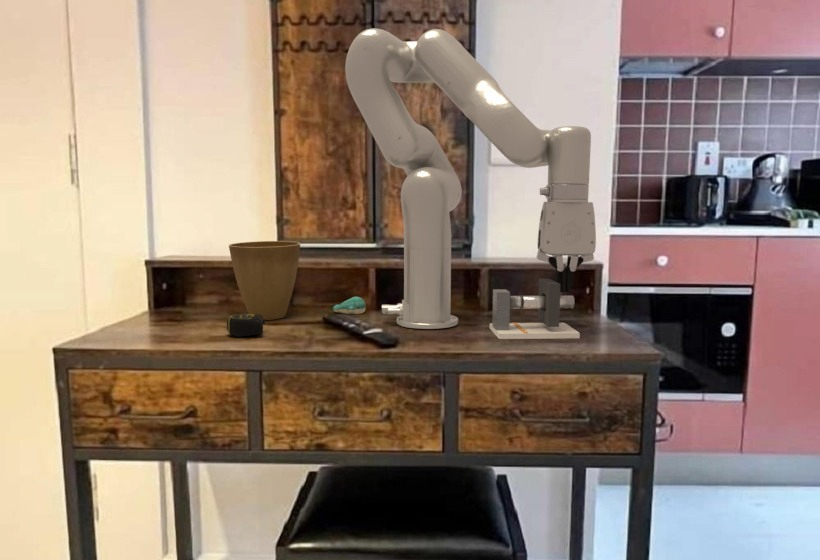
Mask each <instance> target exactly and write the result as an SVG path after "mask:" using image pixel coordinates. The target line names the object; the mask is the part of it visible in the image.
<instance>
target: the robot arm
mask: <svg viewBox="0 0 820 560" xmlns="http://www.w3.org/2000/svg"><path fill="white" fill-rule="evenodd" d="M344 66H345V67H344V68H345V69H344V70H345V78H346V83H347V86H348V89H349V92H350V94H351V96H352V98H353V100H354V102H355V104H356V106H357V108H358V110H359V112H360V114H361V116H362V117H363V120H364V121H365V123H366V125H367V128H368V129H369V131H370V133H371V134H372V137H373V138H374V141H375V142H376V144H377V145H378V148H379V150H380V152H381V154H382V155H383V158H384V159H385V161H386V162H387V163H388V164H389V165H391V166H393V167H395V168H398V169H403V170H404V172H405V174H406V178H405V179H404V181H403V182H402V185H401V190H400V204H401V205H400V206H401V212H402V213H401V214H402V220H403V222H402V223H403V254H404V255H403V258H404V259H403V261H404V262H403V280H404V281H403V299H401V302H398V303H397V304H381V314H383V315H391V316H392V315H397V317H396V324H397V325H398V326H401V327H404V328H409V329H418V330H419V329H420V330H422V329H423V330H438V329H446V328H447V329H448V328H452V327H455V326H457V325H458V324H459V317H457V316H455V315H453V314H451V304H452V303H451V300H452V299H451V297H452V296H451V293H452V291H451V290H452V289H451V286H452V282H451V281H452V227H451V226H452V225H451V217H450V215H451V214H450V212H452V211H453V210H455V209H456V207H457V206H458V205H459V204H460V201H461V199H462V193H463V190H462V185H461V182H460V179H459V177H458V175H457V173H456V172H455V169H454V167H453V166H452V164H451V162H450V161H449V158H448V157H447V155H446V153H445V152H444V150H443V147H442V146H441V144H440V143H439V141H438V138H436V136H435V135H434V134H433V132H432V131H430V130H429V129H428V128H427V127H425V126H423V125H421V124H418V123H417V122H416V121H414V119H413V117H412V116H411V113H410V112H409V110H408V109H407V107H406V105H405V103H404V101H403V100H402V97H401V96H400V94H399V92H398V90H397V89H396V88H395V87H394V85H393V84H392V83H396V84H397V83H399V84H400V83H401V84H402V83H403V84H404V83H405V84H407V83H411V84H412V83H415V84H416V83H418V84H421V83H422V84H425V83H427V84H431V83H432V84H433V83H435V85H437V86H438V87H439V89H440V90H441V91H442V92H443V93H444V94H445V95H446V97H448V98H449V99H450V100H451V101H452V102H453V104H455V106H456V107H457V108H458V109H459V110H460V111H461V112H462V113H463V114H464V116H465V117H466V118H468V119H469V120H470V121H471V122H472V123H473V124H474V125H475V127H476V128H477V129H478V130H479V132H481V133H482V134H483V135H484V136H485V138H487V140H488V141H490V142H491V144H492V145H493V146H494V147H495V148H496V149H497V150H498V151H499V152H500V153H501V154H502V155H503V156H504V157H505V158H506V159H507V160H508V161H510V162H511V163H512V164H514V165H517V166H520V167H523V168H528V169H530V168H531V169H533V168H539V167H546V166H548V168H547V184H546V186H545V187H540V188H539V195H540V196H545V199H546V201H543V204H542V207H541V212H540V217H539V223H538V230H537V231H538V232H537V249H538V251H537V253H536V259H537V260H539V261H542V262H546V263H548V264H550V266H552V268H553V269H554V270H555V278H554V281H555V282H557V283H559V284H560V293H571V288H573V287H574V272H576V270H577V268H579V267H580V265H582V263H588V262H592V261H593V260H594V258H595V256H594V253H595V252H596V249H597V248H596V247H597V241H596V240H597V237H596V236H597V234H596V215H595V214H596V213H595V209H594V208H595V207H594V203H593V201H592V202H591V201H589V194H590V193H589V192H590V191H589V189H590V185H589V184H590V170H591V169H590V166H591V146H592V145H591V144H592V134H591V131H590V129H589V128H587V127H584V126H580V125H579V126H577V125H571V126H569V125H567V126H557V127H554V128H553V129H549V130H548V129H540V128H538V127H537V126H536V125H535V124H534V123H533V122H532V121H531V120H530V119H529V118H528V117H527V116H526V115H525V114H524V113H523V112H522V111H521V110H520V109H519V108H518V107H517V106H516V105H515V104H514V103H513V102H512V101H511V100H510V99H509V98H508V97H507V96H506V94H505V93H504V92H503V90H502V89H501V87H500V85H499V83H498V81H497V80H496V79H495V78H494V77H493V75H491V73H489V71H488V70H487V69H486V68H484V67H483V66H482V64H481V63H480V62H478V61H477V59H475V58H474V56H473V55H471V53H470V52H469V51H468V50H467V49H466V48H465V47H464V46H463V45H462V43H461V42H460V41H458V40H457V39H456V37H454V36H453V35H452V34H450V33H449V32H448V31H446V30H443V29H439V28H438V29H437V28H433V29H429V30H427V31H426V32H424V33H423V34H422V35H421V36H420V37H419V38H418V40H417V41H416V40H415V41H414V40H413V41H403V40H401V39H400V38H398V37H397V36H396V35H394V34H392V33H391V32H389V31H387V30H384V29H382V28H376V27H375V28H373V27H372V28H367V29H364V30H362V31H361V32H360V33H359V34H357V36H356V37H355V38H354V40H353V41H352V42H351V44H350V46H349V49H348V52H347V54H346V58H345V65H344ZM563 256H567V257H566V258H567V259H566V262H565V263H566V264H565V267H564V257H563Z"/></svg>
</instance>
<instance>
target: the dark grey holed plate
mask: <svg viewBox="0 0 820 560" xmlns="http://www.w3.org/2000/svg"><path fill="white" fill-rule="evenodd" d="M537 293H538V295H537V296H546V308H537V320H538V321H540V323H544V324H545V325H547V326H548V327H559V323H560V314H561V313H560V311H561V308H560V296H561V292H560V284H559V283H557V282H555V280H553V279H551V278H538V292H537Z"/></svg>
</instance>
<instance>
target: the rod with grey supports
mask: <svg viewBox="0 0 820 560" xmlns="http://www.w3.org/2000/svg"><path fill="white" fill-rule="evenodd" d="M574 307H575V297H574V295H560V309H574ZM538 308H546V296H538V295H521V294H519V295H511V292H510V290H508V289H504V288H503V289H500V288H497V289H494V288H493V289H492V317H491V318H492V320H491V321H492V322H491V323H492V326H493V328H494V329H495V330H509V324H510V323H511V322H510V321H511V320H510V319H511V318H510V315H511V314H510V313H511V312H510V310H513V309H515V310H516V309H519V310H523V309H538Z"/></svg>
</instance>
